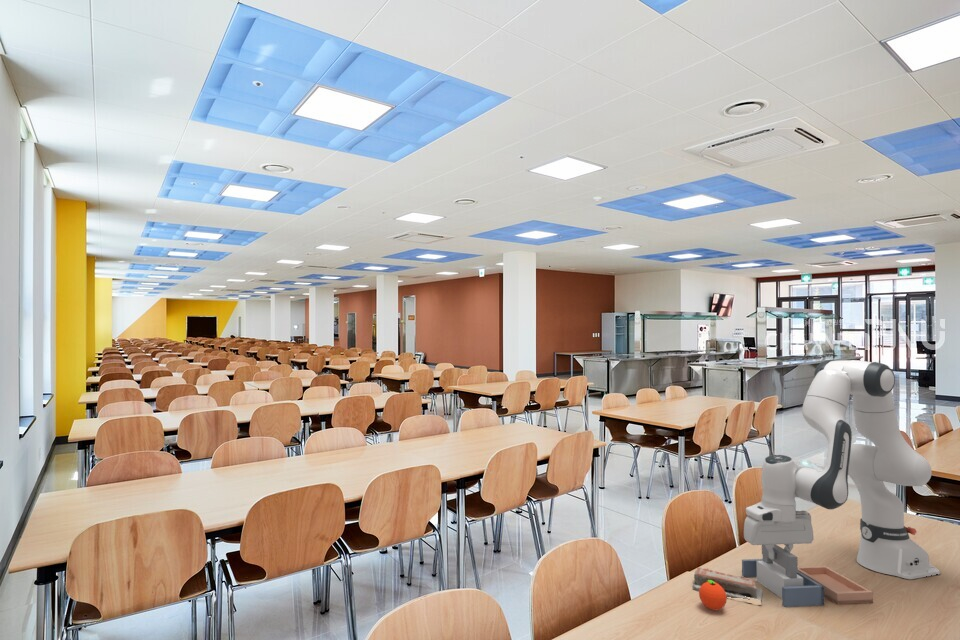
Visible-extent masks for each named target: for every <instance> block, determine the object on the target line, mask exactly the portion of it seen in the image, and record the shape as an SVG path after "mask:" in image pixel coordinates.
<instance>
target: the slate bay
mask: <svg viewBox="0 0 960 640" xmlns="http://www.w3.org/2000/svg"><path fill="white" fill-rule="evenodd" d="M757 561H763V558H751V559H750V558H749V559H748V558H747V559H746V558H745V559H741V577H742V578H753V577H754V578H757ZM797 574H798V575H799V576H801V577H802V578H803V586H791V587H782V598H781V605H782V606H783V607H784V608H792V607H793V608H795V607H814V606H816V607H818V606H825V596H824V587H823V586H822V585H820V584H819V583H817V582H815V581H814V580H812V579H810V578H809V577H807V576H805V575H804V574H802V573H801V572H799V571H797Z"/></svg>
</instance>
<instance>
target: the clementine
mask: <svg viewBox="0 0 960 640" xmlns="http://www.w3.org/2000/svg"><path fill="white" fill-rule="evenodd" d="M698 595H699V599H700V601H701V603H702V605H704V606H705V607H706V608H707V609H709V610H712V611H719V610H722V609H723V608H725V605H726V604H727V600H728V598H727V597H726V593H725V591H724V589H723V588H722V587H721V586H720V585H719V584H718V583H716V582H714V581H712V580H706V583H704V584H703V585H702V586H701V587H700V590H699V591H698Z"/></svg>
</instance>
